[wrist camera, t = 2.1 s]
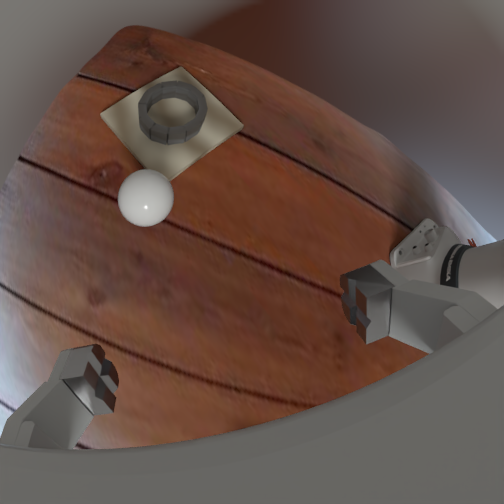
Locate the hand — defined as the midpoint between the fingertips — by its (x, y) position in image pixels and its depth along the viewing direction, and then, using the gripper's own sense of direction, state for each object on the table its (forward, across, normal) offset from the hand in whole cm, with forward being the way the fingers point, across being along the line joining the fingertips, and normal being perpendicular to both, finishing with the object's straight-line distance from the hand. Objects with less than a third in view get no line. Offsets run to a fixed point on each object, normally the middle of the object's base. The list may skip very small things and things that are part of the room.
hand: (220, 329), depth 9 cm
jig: (+40, +2, -9) cm, 41 cm away
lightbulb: (+32, +8, +3) cm, 33 cm away
